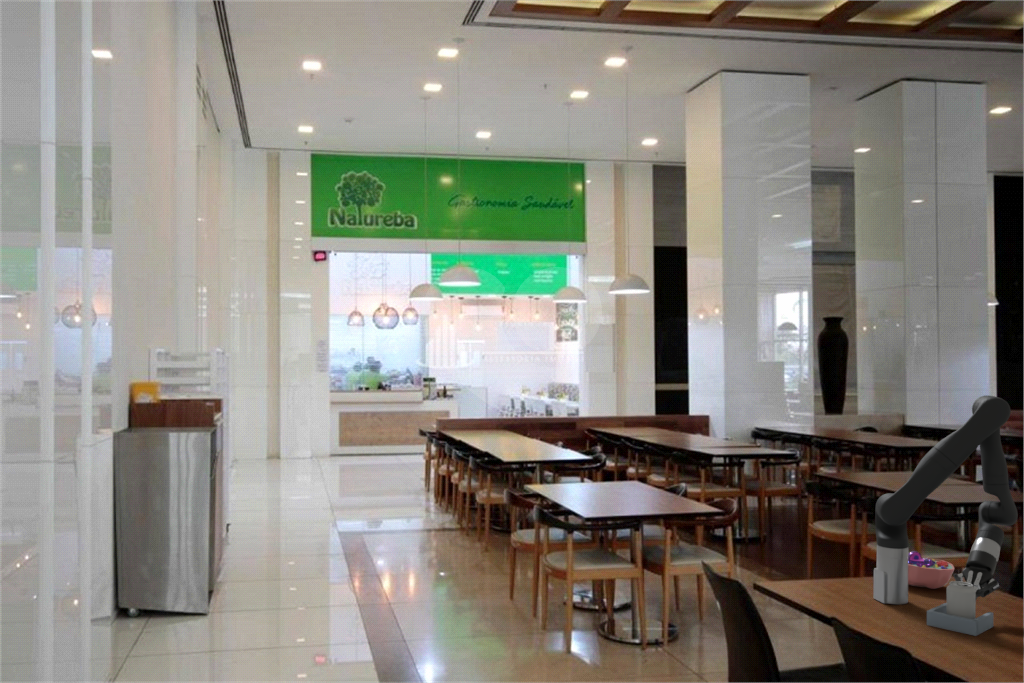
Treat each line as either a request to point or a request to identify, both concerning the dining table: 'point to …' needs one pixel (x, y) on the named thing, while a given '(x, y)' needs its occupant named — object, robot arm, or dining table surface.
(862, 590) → the dining table surface
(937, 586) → the cell model
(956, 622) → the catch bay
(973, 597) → the can
